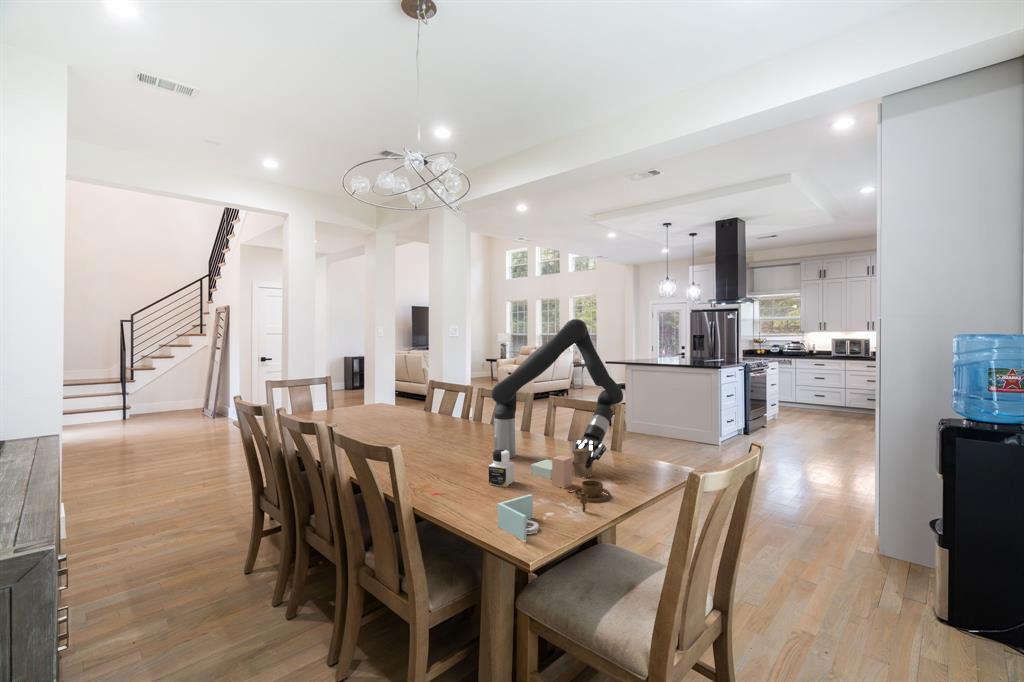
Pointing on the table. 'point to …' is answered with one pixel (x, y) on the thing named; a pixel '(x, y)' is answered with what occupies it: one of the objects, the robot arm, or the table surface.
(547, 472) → the sage base block
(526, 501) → the l-shaped corner panel
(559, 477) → the terracotta pillar
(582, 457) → the walnut pillar
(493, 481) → the medicine bottle
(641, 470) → the table surface
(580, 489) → the place setting
